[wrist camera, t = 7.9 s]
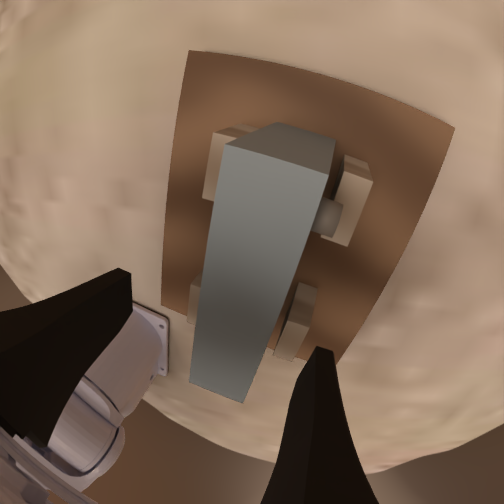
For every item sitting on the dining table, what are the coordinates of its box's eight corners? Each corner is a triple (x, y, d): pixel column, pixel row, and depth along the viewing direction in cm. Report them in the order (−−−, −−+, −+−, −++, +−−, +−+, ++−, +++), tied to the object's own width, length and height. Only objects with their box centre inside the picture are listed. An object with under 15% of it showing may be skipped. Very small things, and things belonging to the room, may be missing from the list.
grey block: (286, 322, 20) (257, 408, 14) (232, 302, 21) (188, 382, 15) (351, 145, 14) (356, 185, 8) (277, 121, 14) (224, 144, 8)
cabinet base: (335, 354, 22) (327, 406, 18) (170, 293, 24) (137, 334, 20) (446, 124, 13) (483, 138, 8) (201, 52, 14) (151, 44, 10)
